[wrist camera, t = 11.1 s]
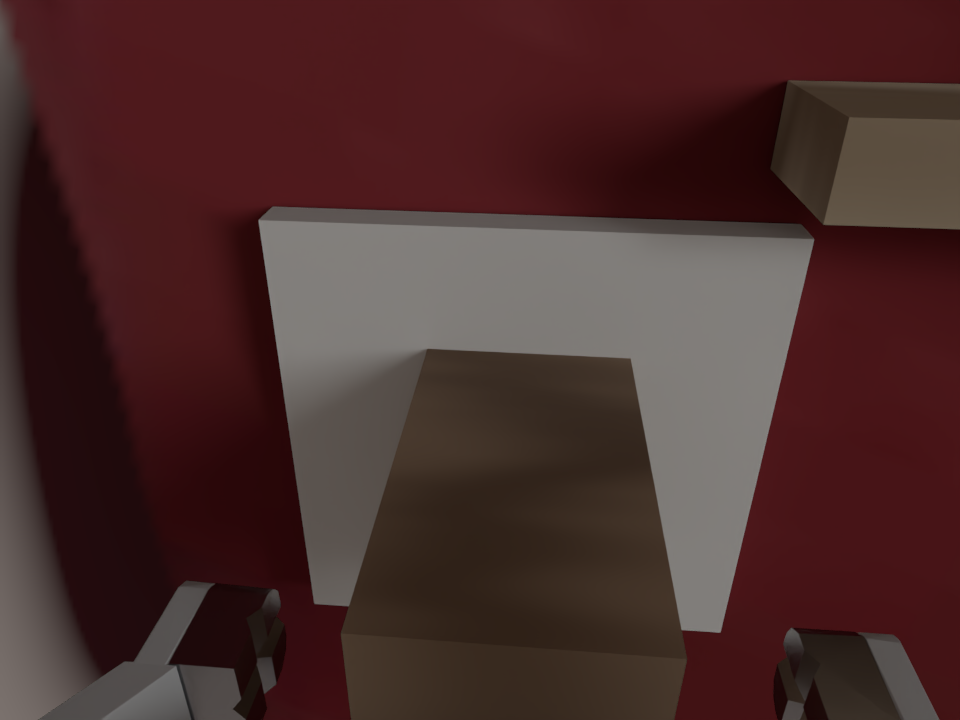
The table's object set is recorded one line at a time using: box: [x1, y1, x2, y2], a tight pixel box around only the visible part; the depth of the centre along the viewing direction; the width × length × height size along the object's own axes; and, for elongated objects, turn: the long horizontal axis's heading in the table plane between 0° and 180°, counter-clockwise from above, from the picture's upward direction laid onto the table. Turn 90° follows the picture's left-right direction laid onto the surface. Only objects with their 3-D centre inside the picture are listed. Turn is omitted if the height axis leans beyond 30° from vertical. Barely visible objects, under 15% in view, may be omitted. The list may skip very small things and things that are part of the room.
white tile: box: [258, 207, 814, 633], centre depth 16 cm, size 10×10×1 cm
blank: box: [341, 349, 687, 720], centre depth 13 cm, size 4×5×7 cm
